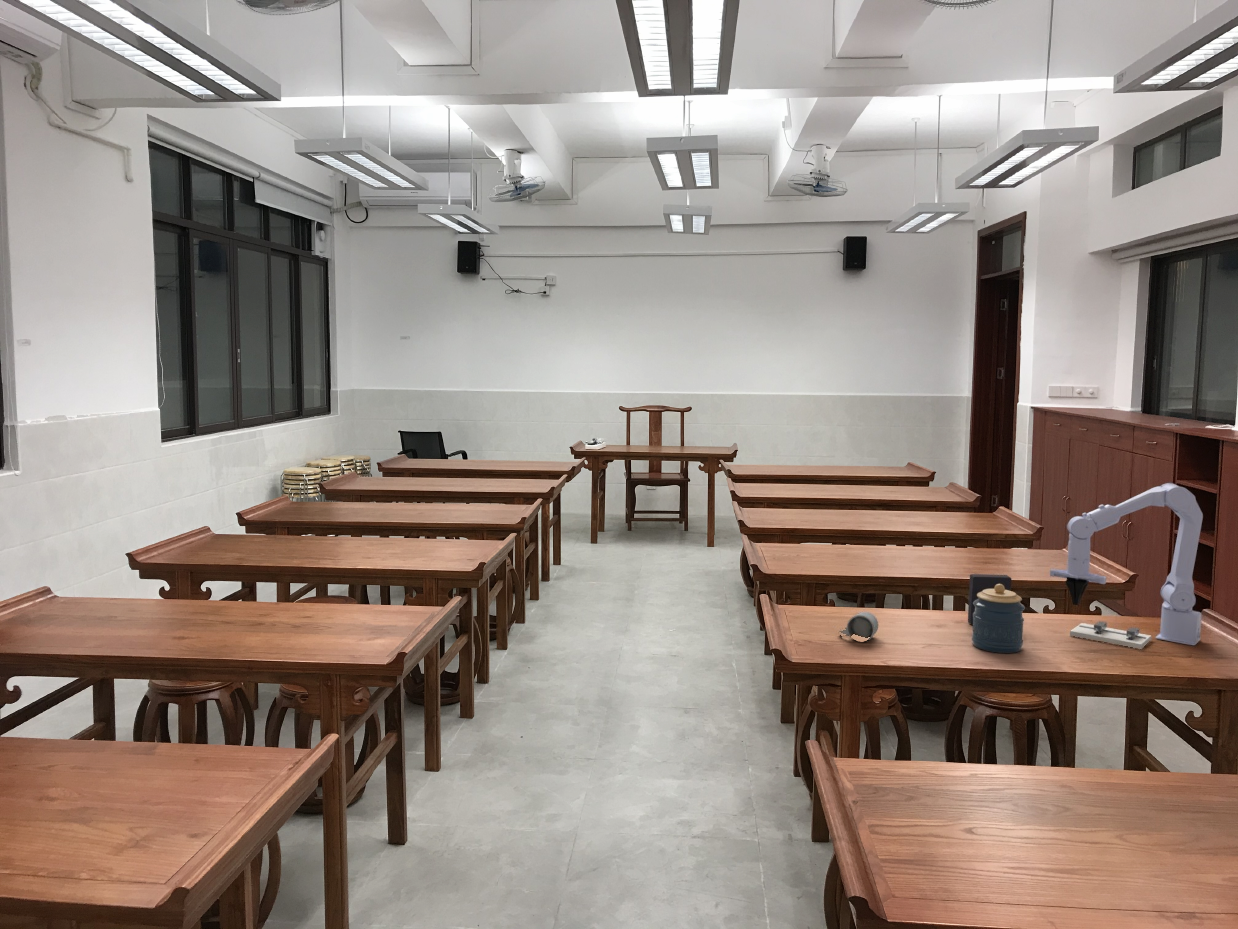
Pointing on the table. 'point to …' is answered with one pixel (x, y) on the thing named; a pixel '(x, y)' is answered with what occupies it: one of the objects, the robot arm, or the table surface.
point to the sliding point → (1100, 626)
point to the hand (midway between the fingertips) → (1076, 604)
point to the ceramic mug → (862, 625)
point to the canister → (998, 621)
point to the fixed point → (1132, 632)
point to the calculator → (981, 583)
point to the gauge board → (1110, 636)
